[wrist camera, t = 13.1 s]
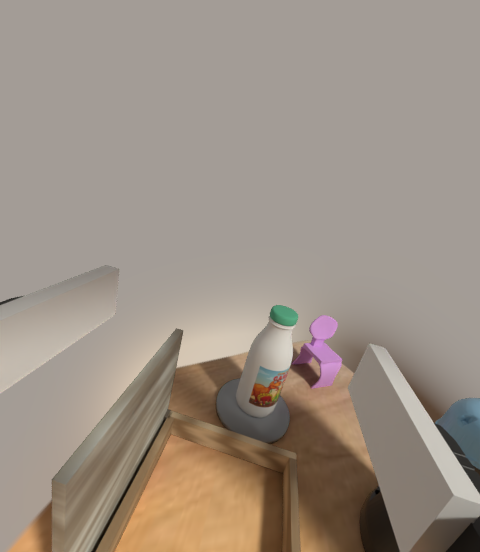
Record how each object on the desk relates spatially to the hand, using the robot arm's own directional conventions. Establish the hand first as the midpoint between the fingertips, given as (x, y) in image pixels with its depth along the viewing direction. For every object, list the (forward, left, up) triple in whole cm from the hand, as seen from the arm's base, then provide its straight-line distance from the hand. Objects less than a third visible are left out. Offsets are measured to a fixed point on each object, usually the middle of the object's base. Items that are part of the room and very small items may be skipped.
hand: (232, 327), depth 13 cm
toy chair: (-19, -43, -32) cm, 57 cm away
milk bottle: (-6, -28, -31) cm, 42 cm away
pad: (-6, -27, -31) cm, 42 cm away
